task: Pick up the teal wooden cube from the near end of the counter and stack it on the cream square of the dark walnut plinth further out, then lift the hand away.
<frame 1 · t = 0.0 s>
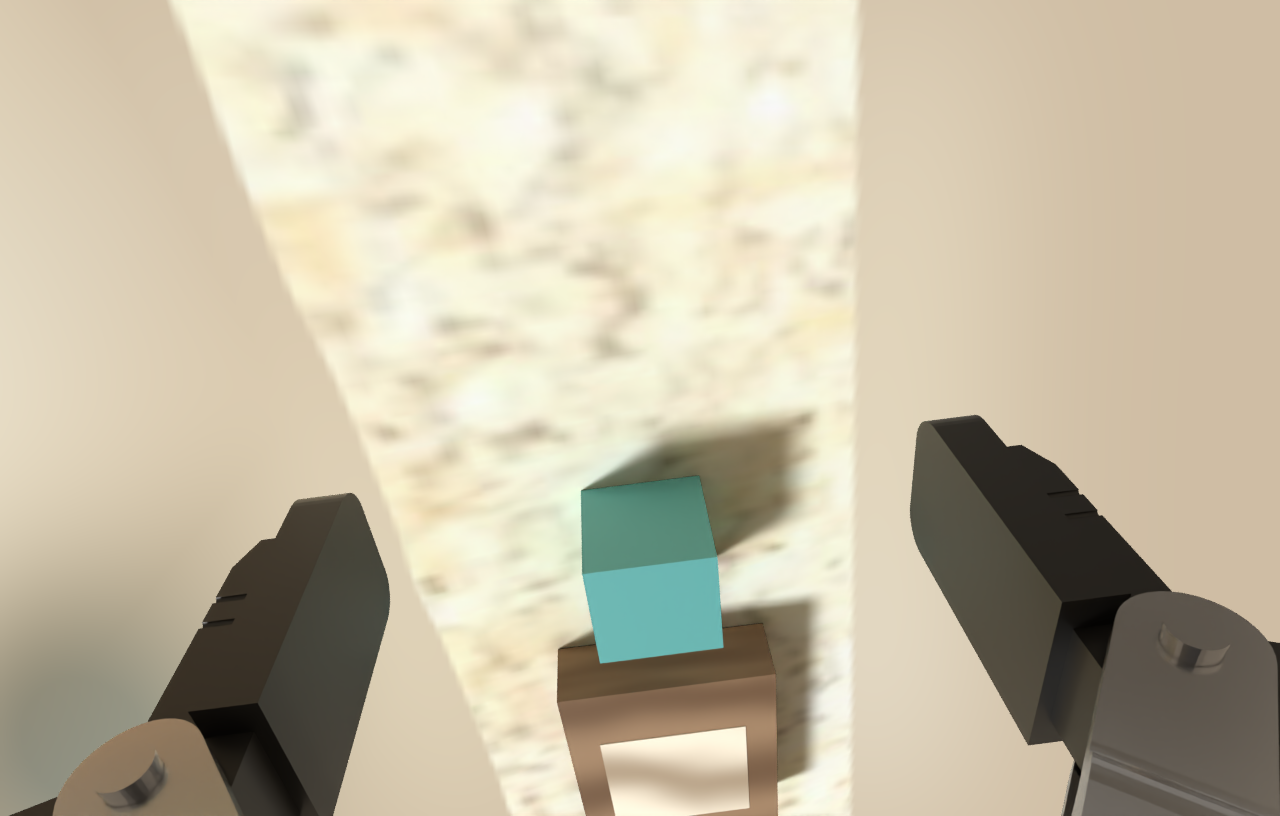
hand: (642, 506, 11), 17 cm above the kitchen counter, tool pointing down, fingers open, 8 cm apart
walnut plinth: (671, 724, 42), on the kitchen counter
teal cube: (645, 526, 34), on the kitchen counter
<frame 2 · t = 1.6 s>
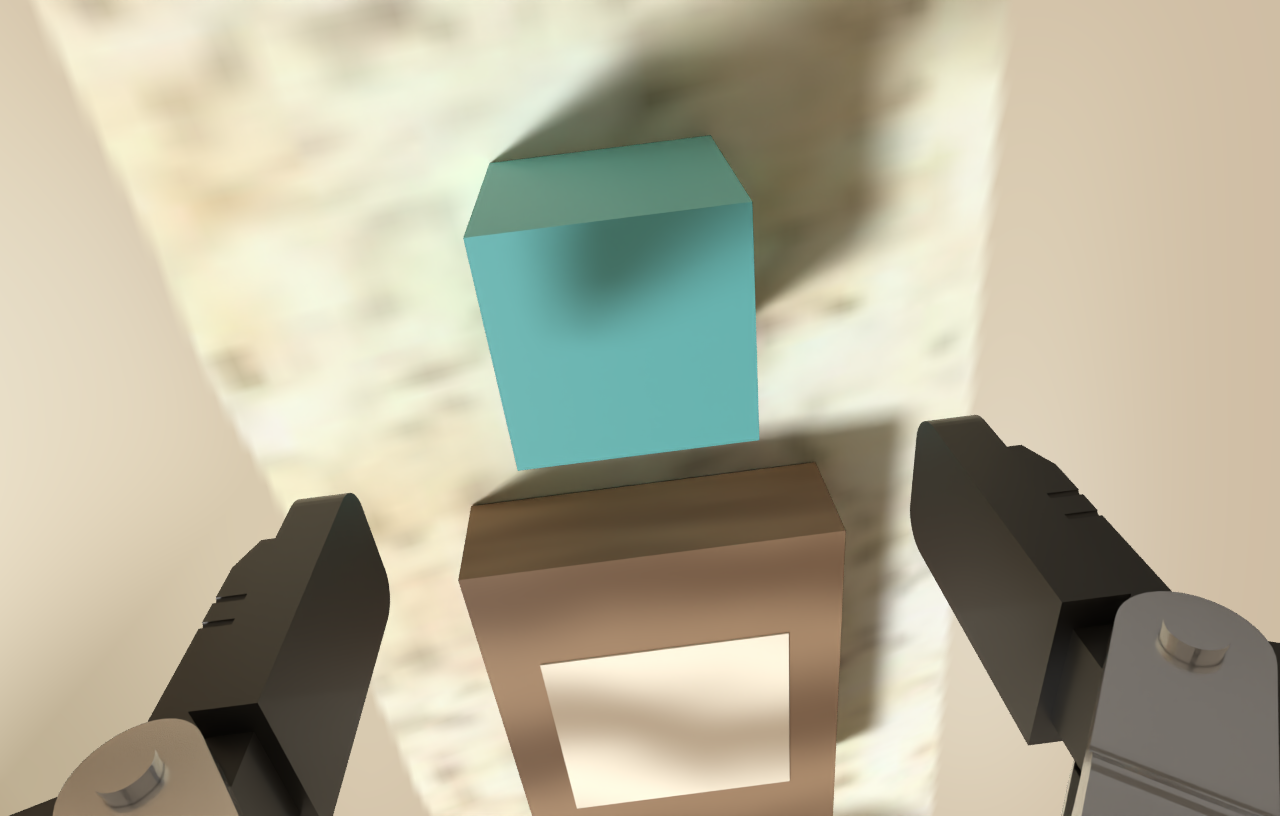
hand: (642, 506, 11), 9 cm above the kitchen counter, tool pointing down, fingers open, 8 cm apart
walnut plinth: (664, 648, 26), on the kitchen counter
teal cube: (613, 253, 19), on the kitchen counter
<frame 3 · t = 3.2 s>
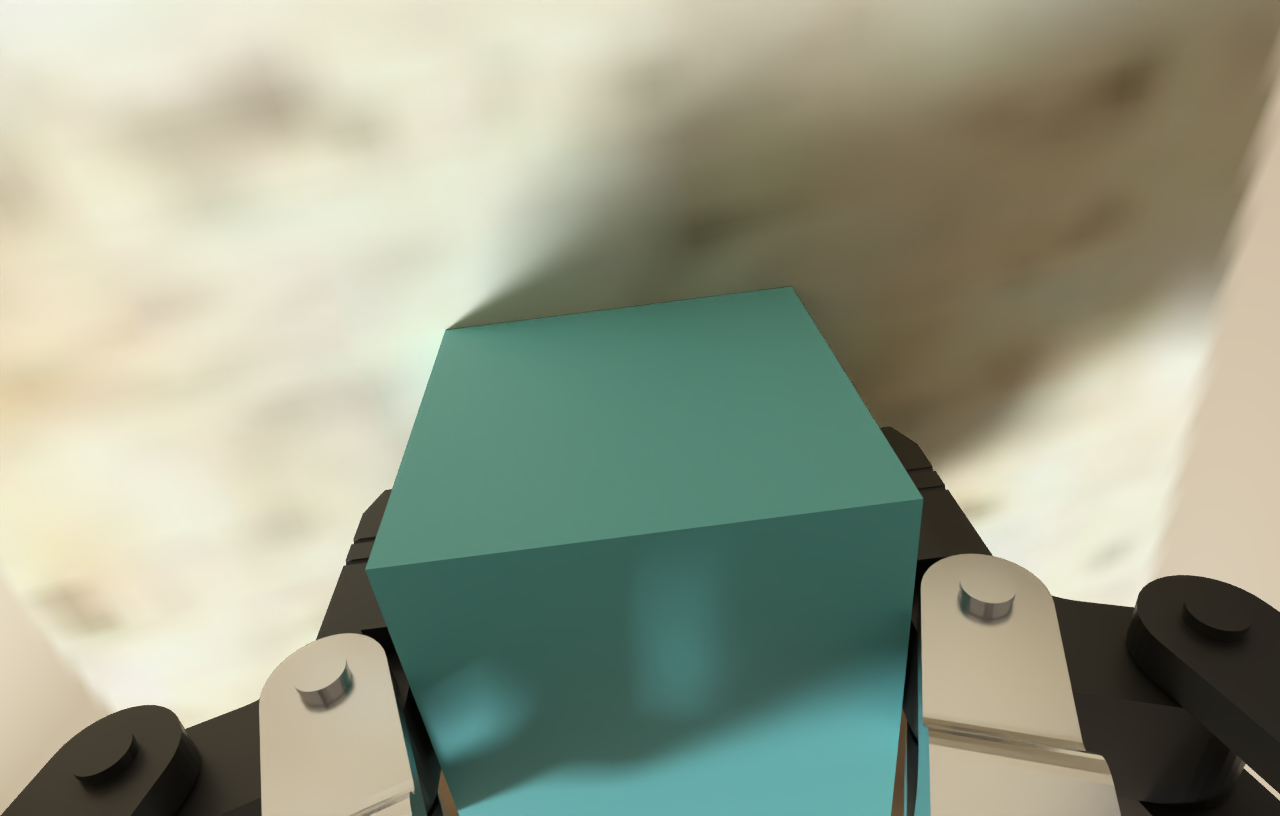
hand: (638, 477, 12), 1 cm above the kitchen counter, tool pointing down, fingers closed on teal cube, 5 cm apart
teal cube: (637, 451, 13), on the kitchen counter, touching gripper
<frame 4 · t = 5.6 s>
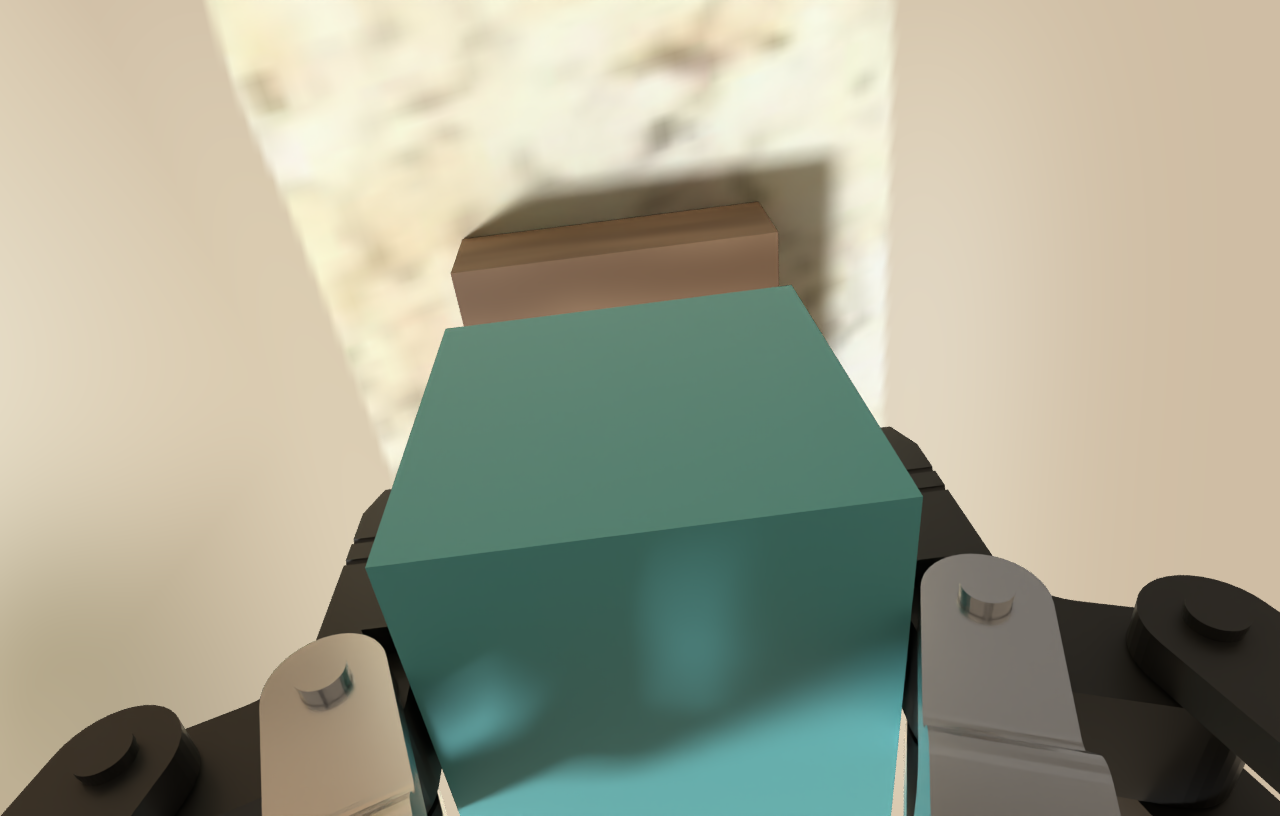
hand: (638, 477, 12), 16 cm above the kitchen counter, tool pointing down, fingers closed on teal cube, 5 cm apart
walnut plinth: (633, 397, 30), on the kitchen counter
teal cube: (637, 450, 13), point 15 cm above the kitchen counter, touching gripper
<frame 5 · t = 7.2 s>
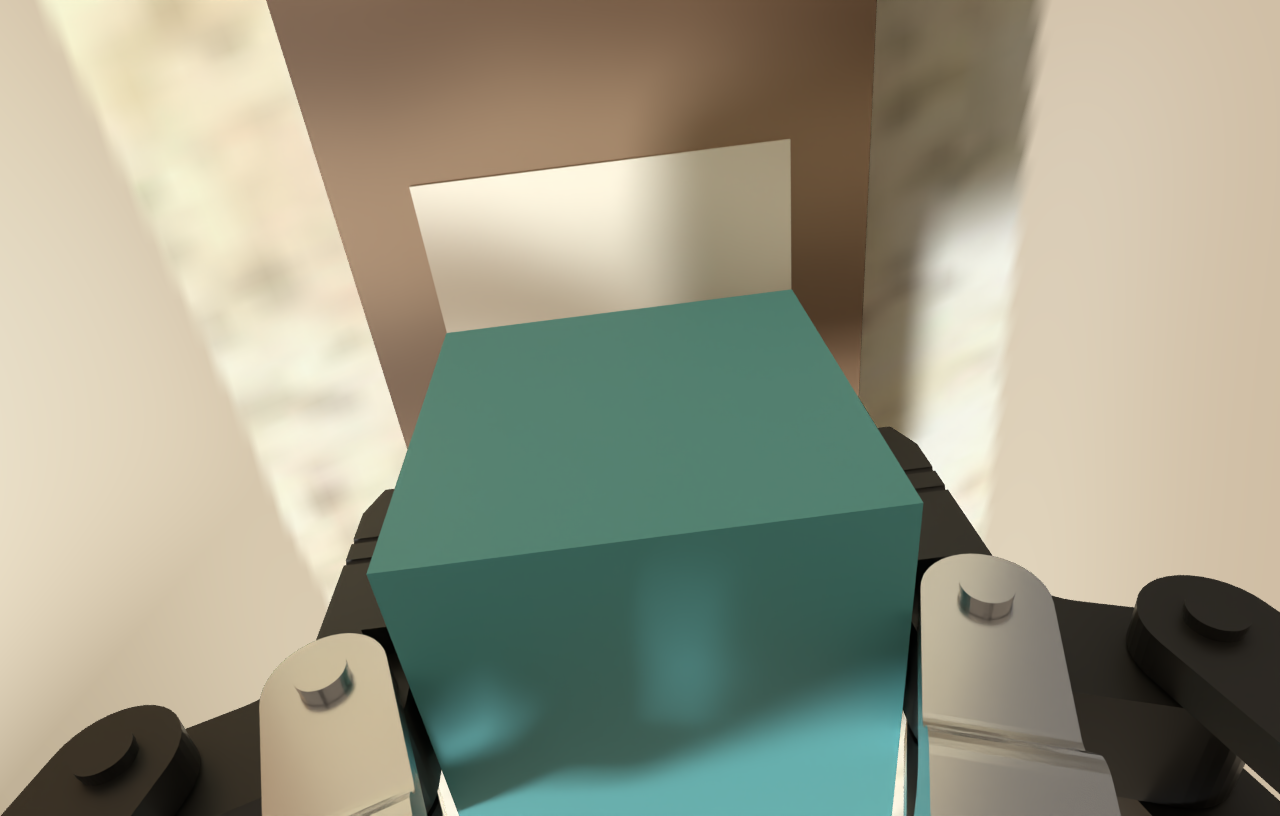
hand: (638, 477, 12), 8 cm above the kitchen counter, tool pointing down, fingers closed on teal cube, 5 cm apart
walnut plinth: (616, 279, 19), on the kitchen counter
teal cube: (637, 453, 13), point 7 cm above the kitchen counter, touching gripper
when the fingers open (5 cm above the kitchen counter, at t = 8.2 s): teal cube drops 1 cm, resting on walnut plinth.
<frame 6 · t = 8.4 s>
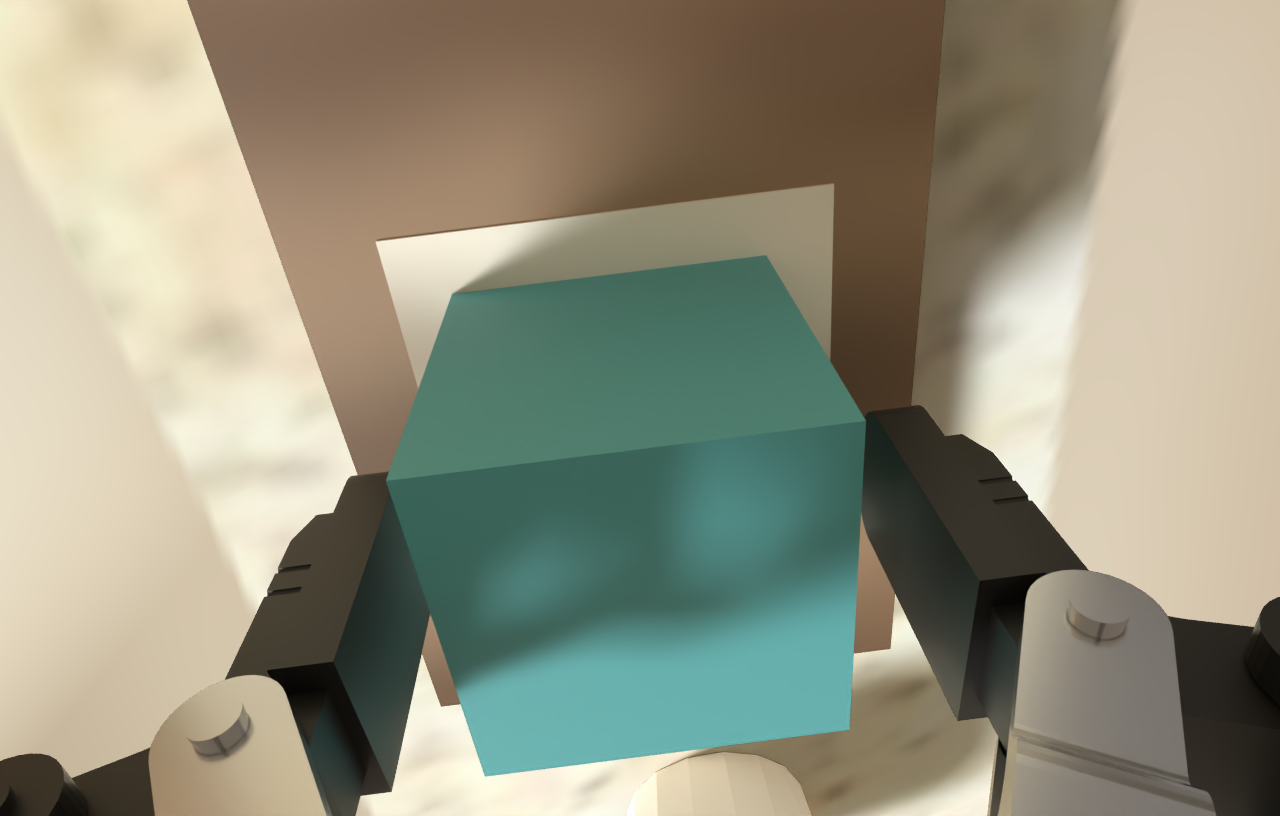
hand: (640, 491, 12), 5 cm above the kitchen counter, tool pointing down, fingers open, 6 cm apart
walnut plinth: (622, 334, 16), on the kitchen counter
white tapered cup: (714, 802, 25), on the kitchen counter
teal cube: (626, 409, 14), point 3 cm above the kitchen counter, touching walnut plinth
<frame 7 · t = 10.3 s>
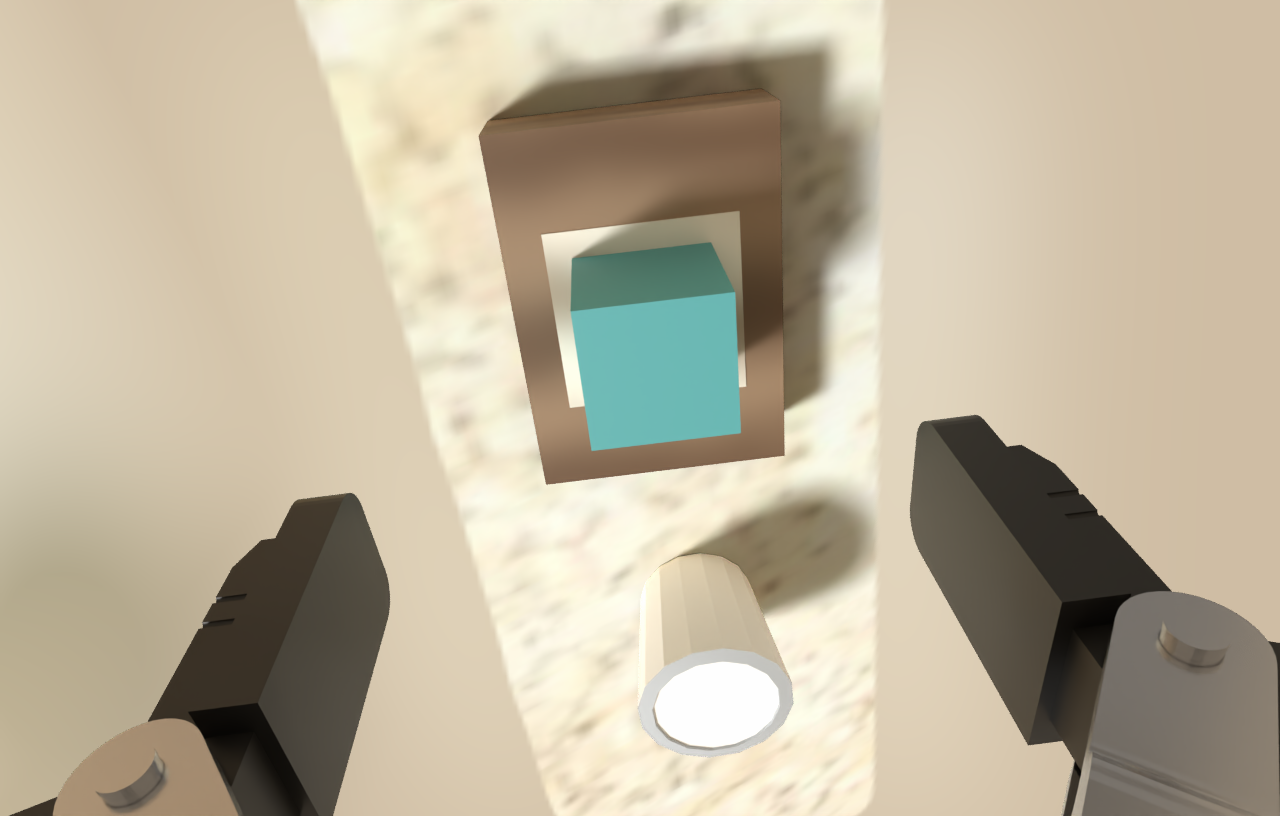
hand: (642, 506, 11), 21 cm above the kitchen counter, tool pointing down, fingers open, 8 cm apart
walnut plinth: (643, 286, 32), on the kitchen counter
white tapered cup: (695, 593, 40), on the kitchen counter
teal cube: (647, 315, 29), point 3 cm above the kitchen counter, touching walnut plinth
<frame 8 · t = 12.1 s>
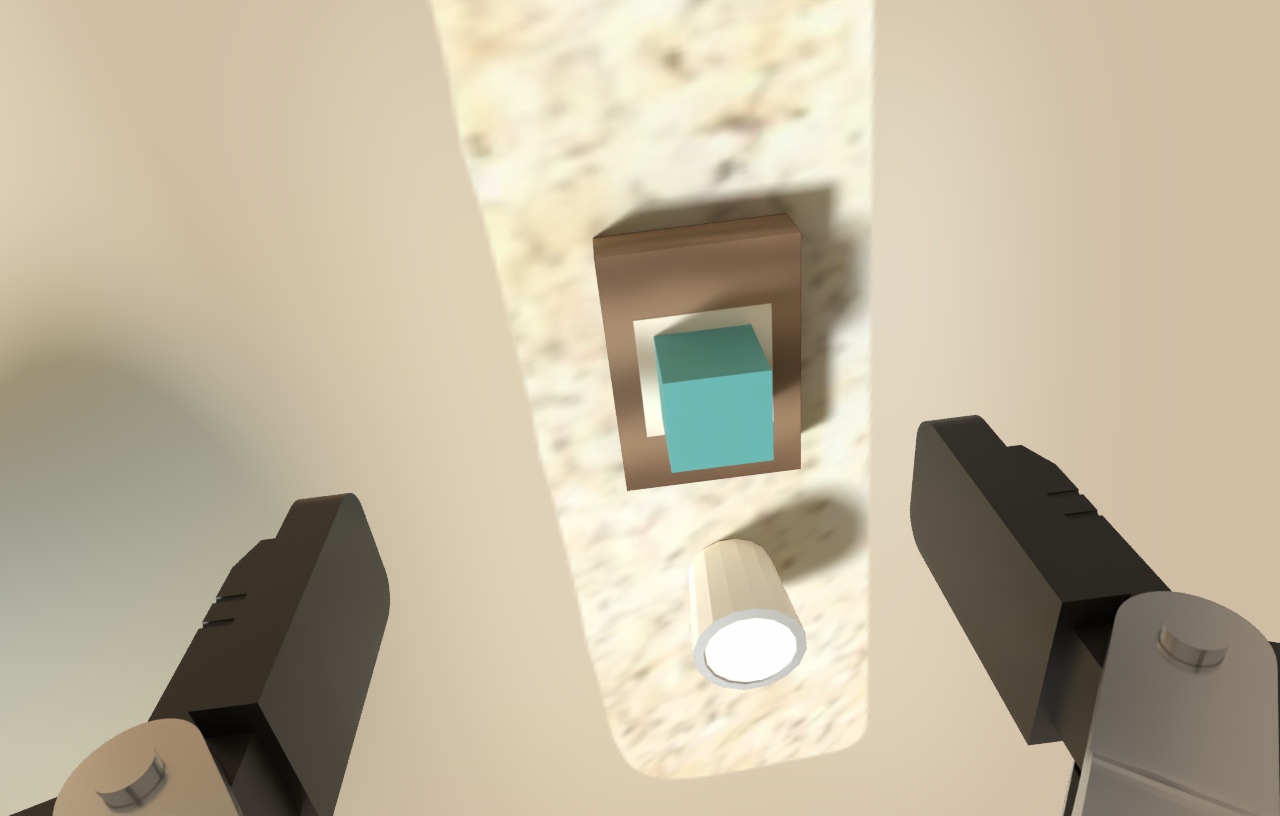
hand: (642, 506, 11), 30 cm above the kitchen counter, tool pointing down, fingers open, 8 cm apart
walnut plinth: (698, 347, 44), on the kitchen counter
white tapered cup: (729, 569, 53), on the kitchen counter
teal cube: (705, 373, 41), point 3 cm above the kitchen counter, touching walnut plinth
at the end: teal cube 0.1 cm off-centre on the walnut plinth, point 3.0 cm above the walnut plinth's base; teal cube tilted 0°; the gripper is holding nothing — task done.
